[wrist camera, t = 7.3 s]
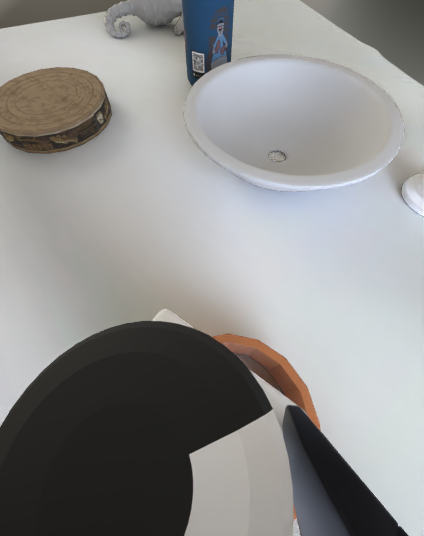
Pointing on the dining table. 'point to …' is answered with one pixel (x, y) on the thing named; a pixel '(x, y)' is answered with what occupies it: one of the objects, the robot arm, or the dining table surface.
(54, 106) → the brown round flat disc
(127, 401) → the medicine bottle
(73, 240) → the dining table surface
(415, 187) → the candle
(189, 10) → the soda can
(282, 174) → the soup bowl
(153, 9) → the seahorse
